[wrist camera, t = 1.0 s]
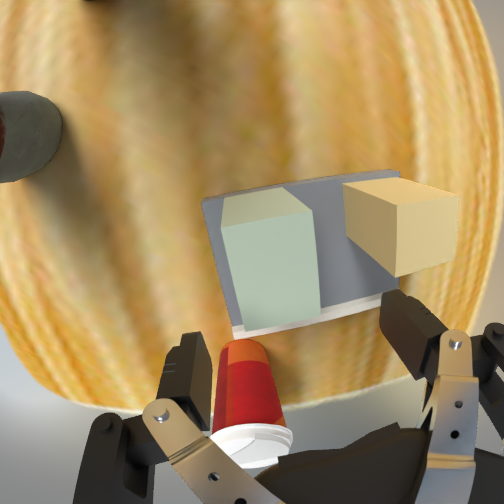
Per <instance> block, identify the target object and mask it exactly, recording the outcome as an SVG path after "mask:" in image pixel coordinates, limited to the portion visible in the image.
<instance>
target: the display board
mask: <svg viewBox="0 0 504 504" xmlns="http://www.w3.org/2000/svg"><path fill="white" fill-rule="evenodd" d="M391 177H398V178H400V171H395V170H391V169H388V170H378V171H368V172H360V173H351V174H343V175H335V176H328V177H321V178H314V179H307V180H301V181H294V182H288V183H282V184H276V185H270V186H265V187H259V188H254V189H248V190H243V191H238V192H233V193H228V194H223V195H218V196H213V197H208V198H204V199H203V200H202V202H201V204H202V209H203V213H204V217H205V222H206V226H207V230H208V234H209V238H210V242H211V247H212V251H213V255H214V259H215V263H216V267H217V271H218V275H219V278H220V282H221V286H222V290H223V294H224V298H225V301H226V305H227V309H228V312H229V316H230V320H231V323H232V332H233V336H234V339H235V340H236V339H242V338H248V337H253V336H259V335H264V334H269V333H274V332H279V331H284V330H288V329H293V328H298V327H302V326H306V325H311V324H315V323H319V322H323V321H327V320H331V319H335V318H339V317H343V316H347V315H351V314H354V313H358V312H362V311H365V310H369V309H372V308H376V307H379V306H381V296H382V293H383V292H387V291H390V290H394V289H397V288H398V289H399V277H396V278H395V277H394V276H392V275H391V274H390V273H389V272H388V271H387V270H386V269H385V268H384V267H382V266H381V265H380V264H379V263H378V262H377V261H376V260H374V259H373V258H372V257H371V256H370V255H369V254H368V253H366V252H365V251H364V250H363V249H362V248H361V247H359V246H358V245H357V244H356V243H355V242H353V241H352V240H351V239H350V238H349V237H347V236H346V220H345V207H344V196H343V186H342V184H343V183H350V182H358V181H366V180H374V179H383V178H391ZM280 187H283V188H284V189H285V190H287V191H288V192H289V193H290V194H292V195H293V196H294V197H296V198H297V199H298V200H299V201H301V202H302V203H303V204H304V205H306V206H307V207H308V208H309V209H311V210H312V214H313V223H314V232H315V242H316V252H317V264H318V276H319V290H320V306H321V316H319V317H315V318H311V319H306V320H302V321H297V322H293V323H288V324H283V325H279V326H274V327H269V328H263V329H258V330H253V331H247V332H245V329H244V325H243V321H242V317H241V313H240V309H239V305H238V301H237V296H236V292H235V288H234V284H233V280H232V275H231V271H230V267H229V263H228V258H227V254H226V250H225V245H224V241H223V236H222V232H221V220H222V212H223V204H224V198H226V197H231V196H236V195H241V194H247V193H252V192H257V191H263V190H269V189H274V188H280Z"/></svg>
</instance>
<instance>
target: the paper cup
mask: <svg viewBox="0 0 504 504" xmlns="http://www.w3.org/2000/svg"><path fill="white" fill-rule="evenodd" d="M210 439H212V440H213V441H214V442H215V443H216V444H217V445H218V446H219V447H220V448H221V449H222V450H223V451H224V452H225V453H226V454H227V455H228V456H229V457H230V458H231V459H232V460H233V461H234V462H235V463H237V464H238V465H239V466H240V467H241V468H258V467H264V466H268V465H272V464H274V463H277V462H278V457H277V456H283V455H288V452H289V448H290V446H291V444H292V441H293V436H292V432H291V430H289V429H288V428H287V427H286V423H285V420H284V416H283V412H282V409H281V405H280V401H279V398H278V394H277V390H276V387H275V383H274V379H273V376H272V372H271V368H270V365H269V361H268V358H267V355H266V352H265V350H264V348H263V346H262V345H261V344H259V343H258V342H256V341H254V340H250V339H238V340H234V341H232V342H230V343H228V344H227V345H225V346H224V348H223V349H222V351H221V355H220V361H219V368H218V377H217V387H216V397H215V407H214V418H213V428H212V435H211V436H210Z"/></svg>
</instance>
